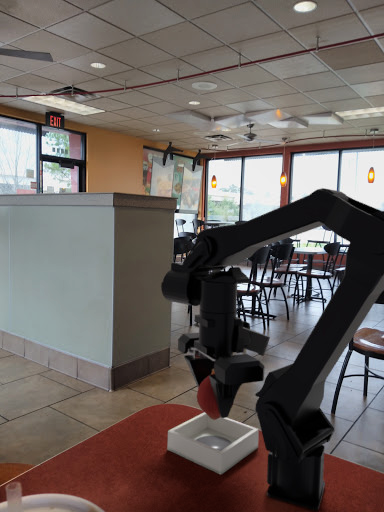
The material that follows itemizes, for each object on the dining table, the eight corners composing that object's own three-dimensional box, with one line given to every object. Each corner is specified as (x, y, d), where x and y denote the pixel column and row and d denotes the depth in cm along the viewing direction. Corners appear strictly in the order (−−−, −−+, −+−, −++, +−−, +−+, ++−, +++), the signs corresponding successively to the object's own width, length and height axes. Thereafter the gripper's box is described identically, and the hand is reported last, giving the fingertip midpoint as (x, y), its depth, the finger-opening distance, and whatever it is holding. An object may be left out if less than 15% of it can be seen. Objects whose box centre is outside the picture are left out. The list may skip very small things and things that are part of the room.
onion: (233, 412, 68) (234, 364, 68) (233, 429, 63) (235, 376, 62) (197, 410, 69) (199, 362, 69) (194, 426, 63) (196, 374, 63)
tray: (257, 447, 67) (258, 429, 67) (221, 474, 59) (221, 454, 59) (206, 427, 73) (207, 410, 73) (167, 449, 66) (167, 430, 65)
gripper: (298, 319, 60) (294, 426, 60) (234, 299, 77) (232, 383, 78) (228, 324, 55) (225, 439, 56) (177, 301, 72) (175, 390, 73)
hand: (215, 409), depth 66 cm, fingers closed on onion, 6 cm apart
